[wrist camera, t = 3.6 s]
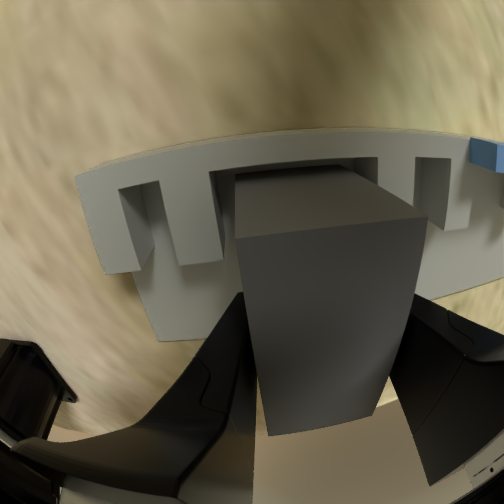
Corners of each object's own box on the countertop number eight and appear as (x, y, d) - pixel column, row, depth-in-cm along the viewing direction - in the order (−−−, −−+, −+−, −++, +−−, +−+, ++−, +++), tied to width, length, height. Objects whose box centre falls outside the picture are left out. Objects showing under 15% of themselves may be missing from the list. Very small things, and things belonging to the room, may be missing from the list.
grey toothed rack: (511, 271, 13) (542, 299, 10) (159, 337, 14) (144, 396, 10) (533, 148, 9) (575, 165, 6) (102, 160, 9) (48, 185, 6)
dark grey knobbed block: (330, 360, 14) (357, 444, 9) (263, 370, 14) (273, 460, 10) (339, 164, 10) (428, 216, 5) (235, 174, 10) (234, 238, 5)
